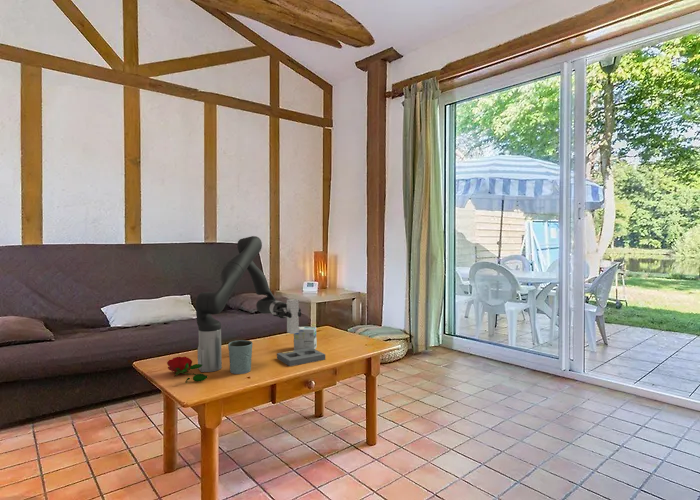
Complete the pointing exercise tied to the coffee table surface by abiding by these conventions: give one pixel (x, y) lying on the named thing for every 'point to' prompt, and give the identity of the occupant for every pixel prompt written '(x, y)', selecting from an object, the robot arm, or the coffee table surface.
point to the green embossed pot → (240, 356)
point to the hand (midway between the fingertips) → (295, 315)
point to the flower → (185, 367)
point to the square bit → (293, 316)
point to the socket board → (300, 356)
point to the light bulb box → (305, 338)
